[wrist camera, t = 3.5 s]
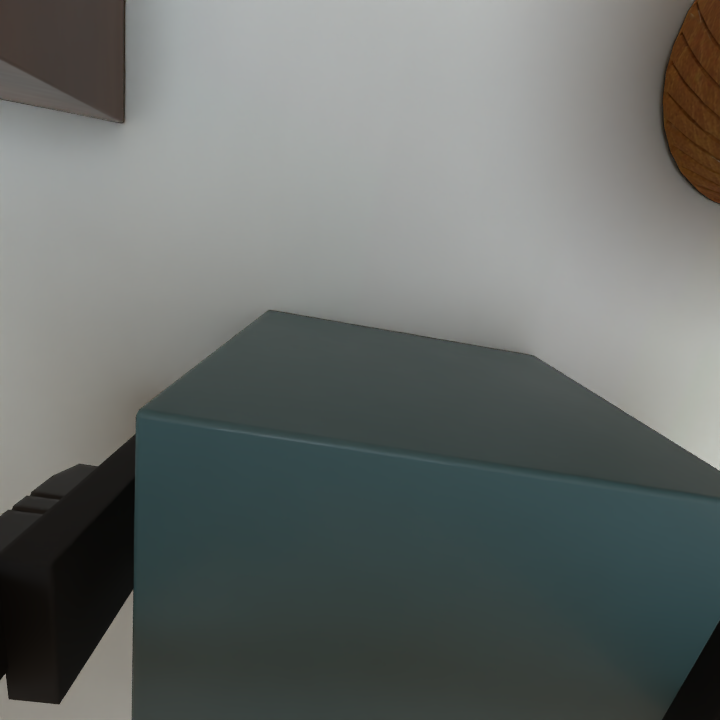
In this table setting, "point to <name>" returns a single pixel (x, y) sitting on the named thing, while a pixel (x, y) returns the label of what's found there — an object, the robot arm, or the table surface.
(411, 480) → the slate-teal block
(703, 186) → the disposable coffee cup
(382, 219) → the table surface
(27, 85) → the mauve-gray square block
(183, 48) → the table surface
